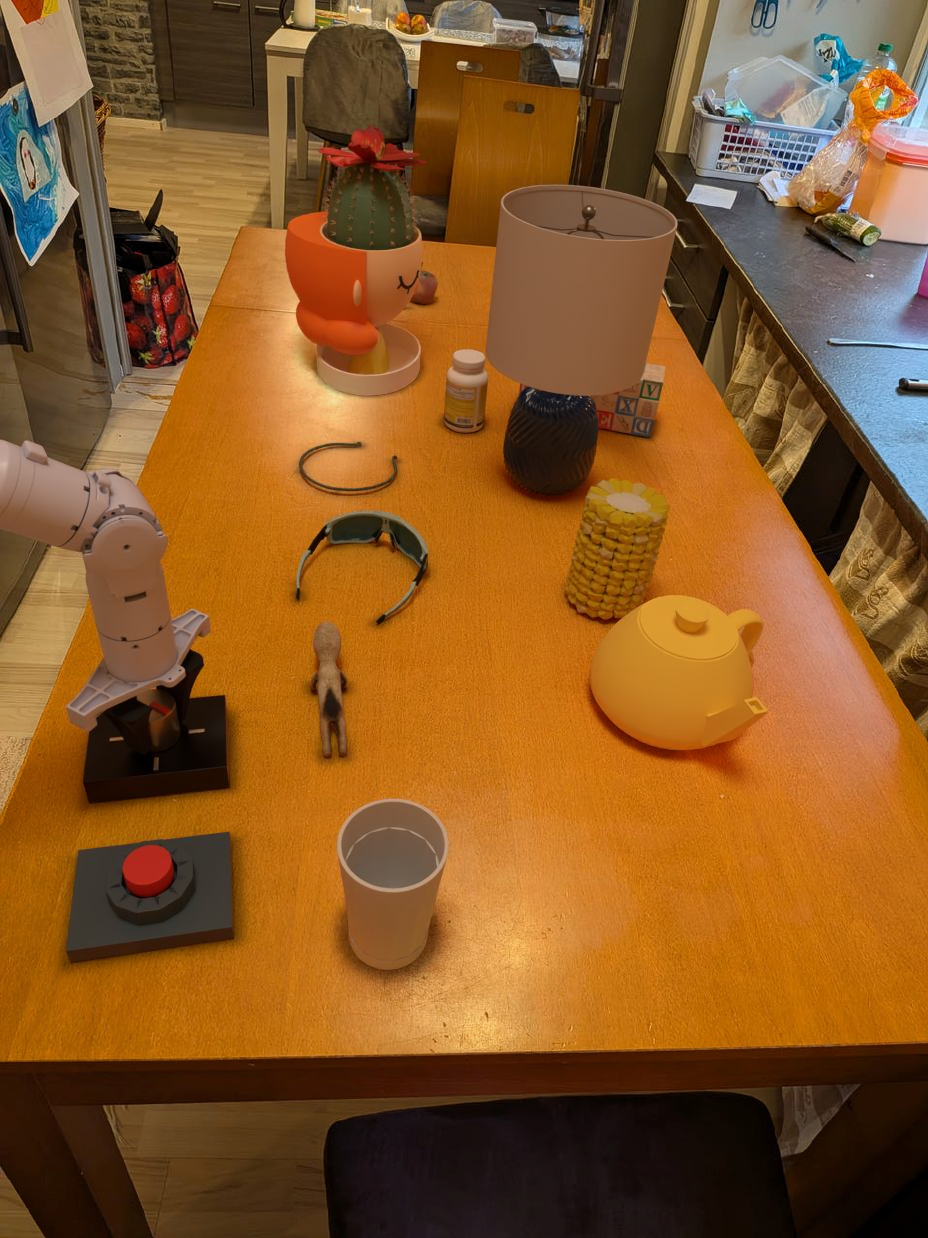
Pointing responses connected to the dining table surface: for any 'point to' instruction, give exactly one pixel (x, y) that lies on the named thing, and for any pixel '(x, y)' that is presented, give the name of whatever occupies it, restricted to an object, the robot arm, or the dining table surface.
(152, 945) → the switch block
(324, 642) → the figurine
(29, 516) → the robot arm
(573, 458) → the lamp
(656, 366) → the stack of blocks
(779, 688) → the dining table surface
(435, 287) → the apple
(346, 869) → the cup
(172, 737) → the dimmer knob
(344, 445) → the black headband
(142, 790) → the dimmer panel
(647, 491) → the food
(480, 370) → the pill bottle
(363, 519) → the sunglasses
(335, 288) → the potted cactus
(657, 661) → the teapot
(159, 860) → the switch button
